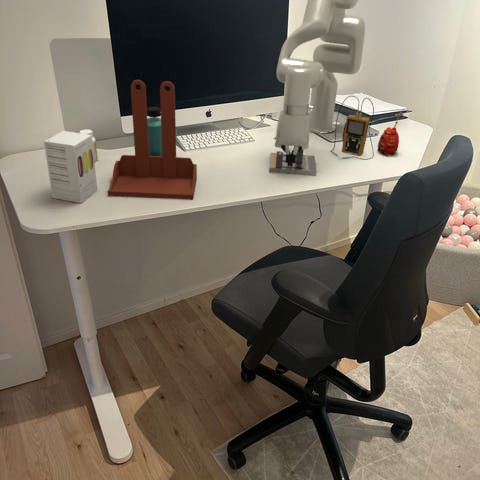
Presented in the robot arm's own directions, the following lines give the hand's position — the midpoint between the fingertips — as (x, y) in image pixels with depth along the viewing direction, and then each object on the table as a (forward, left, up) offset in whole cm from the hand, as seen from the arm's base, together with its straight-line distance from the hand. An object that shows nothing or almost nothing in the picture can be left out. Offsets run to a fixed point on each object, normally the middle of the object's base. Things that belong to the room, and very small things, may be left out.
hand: (289, 164), depth 165 cm
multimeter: (-17, +21, -3) cm, 27 cm away
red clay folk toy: (-23, +35, -3) cm, 42 cm away
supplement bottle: (+2, -65, -3) cm, 65 cm away
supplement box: (+26, -61, -3) cm, 66 cm away
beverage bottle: (+6, -42, -3) cm, 42 cm away
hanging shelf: (+18, -40, -3) cm, 44 cm away
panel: (-5, +1, -3) cm, 6 cm away
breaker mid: (-5, +3, -1) cm, 6 cm away
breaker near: (0, -4, -1) cm, 4 cm away
